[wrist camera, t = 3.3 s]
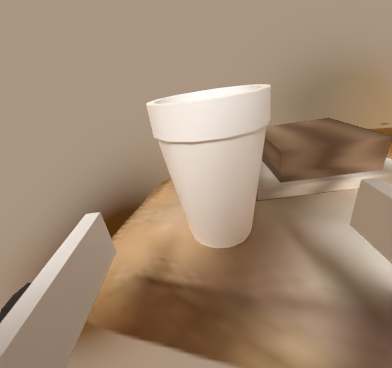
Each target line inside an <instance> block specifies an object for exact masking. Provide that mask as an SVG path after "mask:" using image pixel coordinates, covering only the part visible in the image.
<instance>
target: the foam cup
mask: <svg viewBox="0 0 392 368" xmlns="http://www.w3.org/2000/svg"><path fill="white" fill-rule="evenodd" d="M270 93H271V86H270V85H267V84H262V85H261V84H257V85H243V86H234V87H226V88H217V89H211V90H205V91H197V92H191V93H186V94H180V95H175V96H171V97H166V98H162V99H157V100H154V101H151V102H148V103H147V105H146V106H147V110H148V114H149V118H150V123H151V127H152V131H153V136H154V138H157V140H158V143H159V145H160V148H161V151H162V154H163V156H164V159H165V162H166V164H167V167H168V170H169V173H170V175H171V178H172V181H173V184H174V186H175V189H176V192H177V195H178V197H179V200H180V203H181V205H182V208H183V211H184V214H185V216H186V219H187V222H188V225H189V227H190V230H191V233H192V234H193V238H194V239H196V240H197V241H198V242H199V243H200V244H201V245H204V246H208V247H211V248H215V249H216V248H230V247H233V246H235V245H237V244H240V243H242V242H244V241H245V239H246V238H247V237H248V236H249V235H250V233H251V228H252V223H253V216H254V209H255V202H256V195H257V189H258V182H259V175H260V168H261V161H262V154H263V147H264V140H265V133H266V126H267V124H268V123H270Z"/></svg>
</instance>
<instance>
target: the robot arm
mask: <svg viewBox="0 0 392 368" xmlns="http://www.w3.org/2000/svg"><path fill="white" fill-rule="evenodd" d="M350 225H351V226H352V227H353V228H354V229H355V230H356V231H357V232H358V233H359V234H361V235H362V236H363V237H364V238H365V239H366V240H367V241H368V242H369V243H370V244H371V245H372V246H373V247H374V248H376V249H377V250H378V251H379V252H380V253H381V254H382V255H383V256H384V257H385V258H386V259H387V260H388V261H389V262H391V263H392V185H390V184H388V183H387V182H385V181H383V180H381V179H379V178H370V179H362V180H361V182H360V186H359V190H358V194H357V198H356V202H355V206H354V210H353V214H352V218H351V222H350ZM116 252H117V251H116V249H115V247H114V244H113V242H112V239H111V237H110V235H109V232H108V230H107V228H106V225H105V223H104V221H103V218H102V216H101V213H100V212H99V213H91V214H86V215H85V216H84V217H83V218H82V220H81V221H80V222H79V224H78V225H77V226H76V227H75V229H74V230H73V231H72V232H71V234H70V235H69V236H68V238H67V239H66V240H65V241H64V243H63V244H62V245H61V246H60V248H59V249H58V250H57V252H56V253H55V254H54V255H53V257H52V258H51V259H50V261H49V262H48V263H47V264H46V266H45V267H44V268H43V269H42V271H41V272H40V273H39V275H38V276H37V277H36V278H35V280H34V281H33V282H32V283H27V284H26V285H25V286H24V287H23V288H21V289H20V290H19V291H18V292H17V293H15V294H14V295H13V296H12V297H11V299H10V300H9V301H8V302H7V303H6V305H5V306H4V307H3V308H2V309H1V312H0V368H66V366H67V363H68V361H69V359H70V356H71V354H72V352H73V350H74V347H75V345H76V343H77V340H78V338H79V336H80V334H81V331H82V329H83V327H84V325H85V322H86V320H87V318H88V315H89V313H90V311H91V309H92V306H93V304H94V302H95V299H96V297H97V295H98V293H99V290H100V288H101V286H102V283H103V281H104V279H105V277H106V274H107V272H108V270H109V268H110V265H111V263H112V261H113V258H114V256H115V254H116Z"/></svg>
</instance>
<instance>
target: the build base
mask: <svg viewBox="0 0 392 368" xmlns="http://www.w3.org/2000/svg"><path fill="white" fill-rule="evenodd" d="M391 139H392V136H388V135H385V134H382V133H378V132H375V131H371V130H368V129H365V128H361V127H358V126H355V125H351V124H348V123H344V122H341V121H338V120H334V119H331V118H325V119H318V120H311V121H304V122H296V123H289V124H282V125H275V126H269V127H266V133H265V140H264V147H263V154H262V161H261V168H260V175H259V182H258V189H257V195H256V198H257V200H258V201H259V200H267V199H275V198H283V197H291V196H299V195H307V194H315V193H323V192H332V191H340V190H348V189H356V188H359V186H360V182H361V180H362V179H370V178H379V179H381V180H383V181H385V182H387V183H388V184H392V159H389V158H387V157H386V156H387V153H388V150H389V146H390V143H391Z"/></svg>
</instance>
